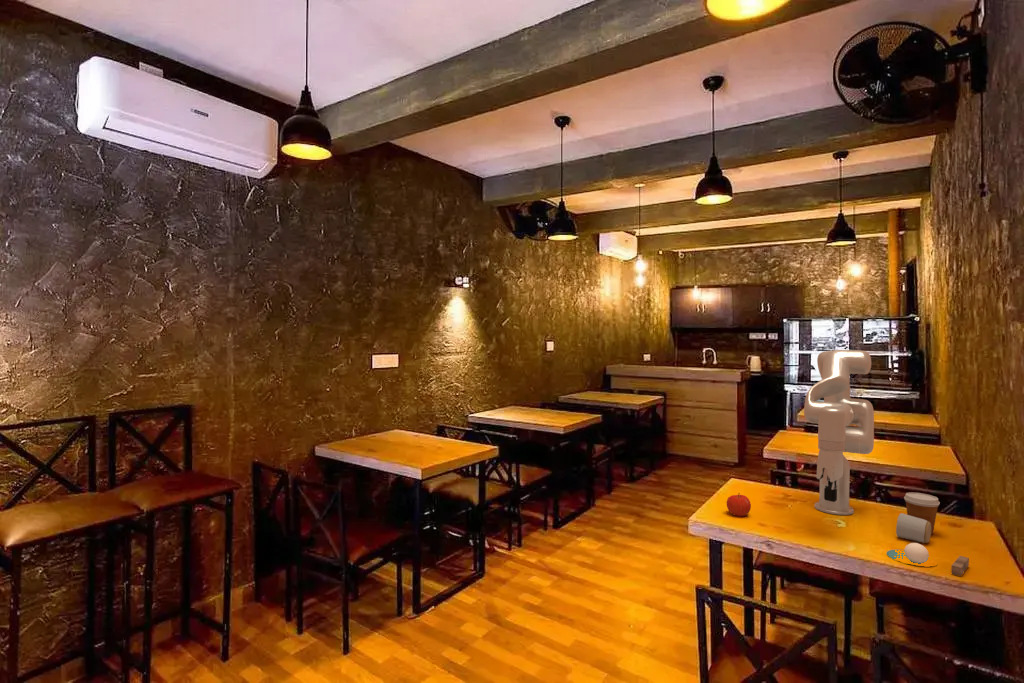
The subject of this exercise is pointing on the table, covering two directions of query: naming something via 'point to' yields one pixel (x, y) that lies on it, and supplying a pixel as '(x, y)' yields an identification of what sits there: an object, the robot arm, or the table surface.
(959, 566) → the strip
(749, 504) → the apple
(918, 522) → the grey cylinder
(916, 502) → the disposable coffee cup
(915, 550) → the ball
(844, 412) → the robot arm
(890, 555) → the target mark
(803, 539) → the table surface
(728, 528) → the table surface
